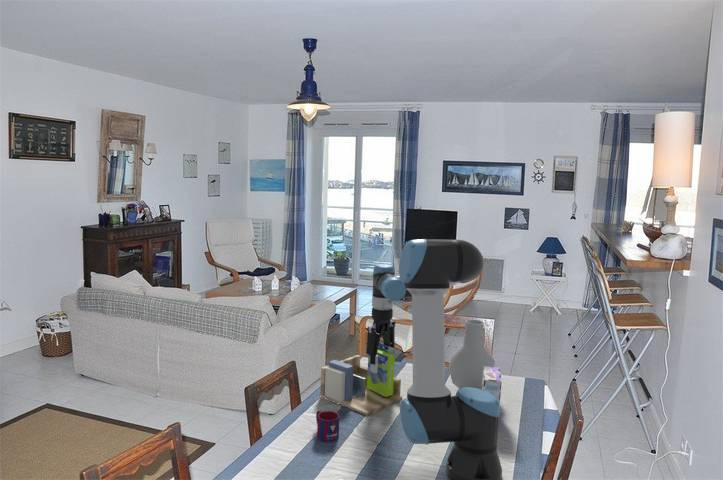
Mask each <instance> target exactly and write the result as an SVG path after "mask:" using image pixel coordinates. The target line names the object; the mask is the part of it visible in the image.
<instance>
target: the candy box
mask: <svg viewBox="0 0 723 480" xmlns="http://www.w3.org/2000/svg"><path fill="white" fill-rule="evenodd" d="M502 382H503V381H502V375H501V370H500V367H499V366H498V367H497V366H495V367H490V366H483V375H482V390H484V391H487V392H489V393H491V394H493V395H494V396H495V397H496V398H497V399H498V400H499V403H500V404H501V395H502V394H501V393H502V392H501V391H502Z"/></svg>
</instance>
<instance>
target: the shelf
mask: <svg viewBox="0 0 723 480" xmlns="http://www.w3.org/2000/svg"><path fill="white" fill-rule="evenodd" d="M339 361H340V362H343V363H346V364H349V365H352V366H353V374H354V375H357V376H360V377H363V378H366V388H365V395H363V396H360V397H358V398H356V399H355V398H352V399H350V400H347V401H345V400H344V401H342V402H340V401H338V400H335V399H333V398H330V397H328V396H325V367H328V366H329V364H328V365H325V366H322V367H320V396H321V397H320V398H322V397H324V398H326V399H325V400H327V399H328V400H327V401H329V400H331V401H330V402H332V401H334V402H336V403H335V404H337V403H339V404H341V405H340V406H342V405H344V406H346V407H348V408H347V409H349V408H350V410H351V409H353V410H352V411H354V410H355V411H354V412H356V411H357V413H359V412H360V413H359V414H361V413H362V415H364V416H367V417H368V416H369V415H371V414H374V413H376V412H378V411H380V410H382V409H385V408H386V407H388V406H390V405H392V404H394V403H396V402H398V401H401V400H403V395H401V387H402V386H401V385H402V384H401V383H402V380H401V378H398V377H395V376H394V384H393V395H390V396H387V397H385V396H383V395H381V394H379V393H377V392H375V391H373V390H370V389H368V388H367V372H368V367H365V366H362V365H361V355H359V354H356V355H353V356H351V357H348V358H345V359H342V360H339ZM324 398H323V399H324ZM334 402H333V403H334ZM339 404H338V405H339ZM344 406H343V407H344ZM346 407H345V408H346Z"/></svg>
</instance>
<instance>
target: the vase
mask: <svg viewBox="0 0 723 480" xmlns="http://www.w3.org/2000/svg"><path fill="white" fill-rule="evenodd" d="M484 325H485V323H484V321H482V320H478V319H466V320H465V325H464V326H465V329H464V336H463V341H462V345H460V347H459V348H457V349H456V350H455V351H454V352H453V353H452V354H451V355H450V359H449V365H448V369H449V374H450V375H449V376H450V379H451V382H452V384H453V385H454V386H455V387H456V388H457V389H460V388H463V387H471V388H477V389H481V390H482V375H483V366H490V367H496V366H495V360H494V357H492V355H491V354H490V353H489V352H488V351H487V349H486V348H485V343H484V340H485V339H484V328H485V327H484Z"/></svg>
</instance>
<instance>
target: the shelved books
mask: <svg viewBox="0 0 723 480" xmlns="http://www.w3.org/2000/svg"><path fill="white" fill-rule="evenodd" d="M340 361H341V360H338V359H334V360H333V359H332V360H331V361H328V365H329V366H328V367H325V396H328V397H330V398H333V399H335V400H338V401H340V402H342V401H344V400H345V401H347V400H350V399H352V393H353V366H352V365H349V364H346V363H343V362H340Z"/></svg>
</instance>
